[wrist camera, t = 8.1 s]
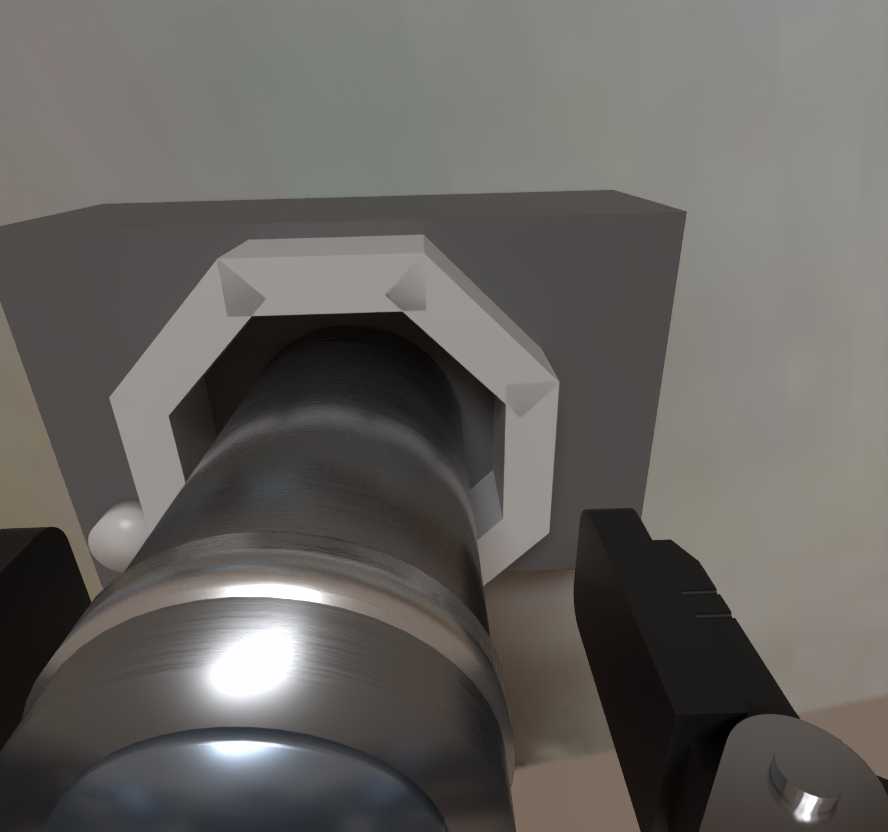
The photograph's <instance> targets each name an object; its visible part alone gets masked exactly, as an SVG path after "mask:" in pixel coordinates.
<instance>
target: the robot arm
mask: <svg viewBox="0 0 888 832" xmlns="http://www.w3.org/2000/svg"><path fill="white" fill-rule="evenodd" d="M90 604H91V600H90V597H89V595H88V592H87V589H86V587H85V584H84V581H83V579H82V576H81V573H80V570H79V568H78V565H77V562H76V560H75V557H74V554H73V552H72V549H71V546H70V544H69V541H68V539H67V537H66V535H65V534H64V532H63V531H62V530H60V529H59V528H56V527H40V528H11V529H0V751H1V750H2V748H3V747H4V745H5V744H6V742H7V741H8V739H9V738H10V737H11V735H12V734H13V732H14V731H15V729H16V728H17V726H18V725H19V724H20V722H21V721H22V717H23V713H24V708H25V704H26V700H27V698H28V696H29V694H30V692H31V690H32V687H33V685H34V683H35V681H36V679H37V678H38V676H39V675H40V674H41V672H42V671H43V669H44V668H45V667H46V665H47V664H48V662H49V661H50V660H51V658H52V657H53V655H54V654H55V653H56V651H57V650H58V648H59V647H60V646H61V644H62V643H63V641H64V640H65V639H66V637H67V636H68V634H69V633H70V632H71V630H72V629H73V627H74V626H75V625H76V623H77V622H78V620H79V619H80V618H81V616H82V615H83V613H84V612H85V611H86V609H87V608H88V607H89V605H90ZM574 607H575V615H576V621H577V625H578V629H579V632H580V635H581V639H582V642H583V645H584V648H585V652H586V655H587V658H588V661H589V665H590V668H591V671H592V674H593V678H594V681H595V684H596V687H597V691H598V694H599V697H600V700H601V704H602V707H603V710H604V713H605V717H606V720H607V723H608V727H609V730H610V733H611V736H612V740H613V743H614V746H615V749H616V753H617V756H618V759H619V762H620V766H621V768H622V772H623V775H624V779H625V782H626V785H627V788H628V792H629V795H630V798H631V801H632V804H633V808H634V811H635V814H636V818H637V821H638V824H639V827H640V831H641V832H888V780H887V779H884V778H882V777H879V776H877V775H875V773H874V772H873V771H872V770H871V768H870V767H869V766H868V765H867V763H866V762H865V761H864V760H863V759H862V758H861V757H860V756H859V755H858V754H857V753H856V752H855V751H854V750H853V749H851V748H850V747H849V746H848V745H846V744H845V743H844V742H842V741H841V740H840V739H838V738H837V737H835V736H834V735H832V734H830V733H829V732H827V731H825V730H823V729H821V728H820V727H818V726H816V725H814V724H811V723H809V722H806V721H804V720H801V719H800V718H799V716H798V715H797V714H796V712H795V711H794V709H793V708H792V706H791V705H790V703H789V701H788V700H787V698H786V697H785V695H784V694H783V692H782V690H781V689H780V687H779V686H778V684H777V683H776V681H775V680H774V678H773V676H772V675H771V673H770V672H769V670H768V669H767V667H766V665H765V664H764V662H763V661H762V659H761V658H760V656H759V654H758V653H757V651H756V650H755V648H754V647H753V645H752V644H751V642H750V640H749V639H748V637H747V636H746V634H745V633H744V631H743V629H742V628H741V626H740V625H739V623H738V622H737V620H736V619H735V618H732V616H731V611H730V609H729V608H728V606H727V604H726V603H725V601H724V600H723V598H722V597H721V595H720V594H717V591H716V587H715V586H714V584H713V583H712V581H711V579H710V578H709V576H708V575H707V573H706V572H705V570H704V568H703V567H702V565H701V564H700V562H699V561H698V560H696V559H695V558H694V557H693V556H691V555H690V554H689V553H687V552H686V551H685V550H684V549H682V548H681V547H680V546H679V545H677V544H676V543H675V542H673V541H672V540H652V539H651V537H650V535H649V533H648V532H647V530H646V528H645V526H644V524H643V523H642V521H641V519H640V517H639V515H638V514H637V512H636V511H635V510H634V509H633V508H612V509H584V510H583V511H582V513H581V517H580V524H579V535H578V545H577V556H576V567H575V578H574Z"/></svg>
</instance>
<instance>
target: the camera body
mask: <svg viewBox="0 0 888 832" xmlns="http://www.w3.org/2000/svg"><path fill="white" fill-rule="evenodd" d="M686 213H687V211H683V210H680V209H676V208H673V207H670V206H666V205H663V204H659V203H656V202H653V201H649V200H646V199H642V198H639V197H636V196H632V195H629V194H625V193H622V192H619V191H615V190H596V191H560V192H523V193H487V194H451V195H415V196H378V197H342V198H306V199H270V200H233V201H197V202H161V203H125V204H100V205H96V206H91V207H87V208H82V209H77V210H73V211H68V212H64V213H59V214H54V215H50V216H45V217H41V218H36V219H32V220H27V221H22V222H18V223H13V224H9V225H4V226H0V301H1V304H2V307H3V310H4V313H5V315H6V318H7V321H8V324H9V327H10V329H11V332H12V335H13V338H14V341H15V344H16V346H17V349H18V352H19V355H20V358H21V360H22V363H23V366H24V369H25V372H26V374H27V377H28V380H29V383H30V386H31V388H32V391H33V394H34V397H35V400H36V402H37V405H38V408H39V411H40V414H41V416H42V419H43V422H44V425H45V428H46V430H47V433H48V436H49V439H50V442H51V445H52V447H53V450H54V453H55V456H56V459H57V461H58V464H59V467H60V470H61V473H62V475H63V478H64V481H65V484H66V487H67V489H68V492H69V495H70V498H71V501H72V503H73V506H74V509H75V512H76V515H77V517H78V520H79V523H80V526H81V529H82V532H83V534H84V537H85V540H86V543H87V546H88V548H89V551H90V554H91V557H92V560H93V562H94V565H95V568H96V571H97V574H98V576H99V579H100V582H101V585H102V588H106V587H107V586H108V585H109V584H110V583H111V582H112V581H113V580H114V579H116V578H117V577H118V576H120V575H121V574H123V573H124V571H125V570H126V568H127V567H128V566H129V564H130V563H131V561H132V560H133V558H134V557H135V555H136V554H137V553H138V551H139V550H140V548H141V547H142V545H143V544H144V542H145V541H146V540H147V538H148V537H149V535H150V534H151V532H152V531H153V529H154V528H155V526H156V525H157V524H158V522H159V521H160V519H161V518H162V516H163V515H164V513H165V512H166V511H167V509H168V508H169V506H170V505H171V503H172V502H173V500H174V499H175V497H176V496H177V495H178V493H179V492H180V490H181V489H182V487H183V486H184V484H185V483H186V482H187V480H188V479H189V477H190V476H191V474H192V473H193V471H194V470H195V469H196V467H197V466H198V464H199V463H200V461H201V460H202V458H203V457H204V455H205V454H206V453H207V451H208V450H209V448H210V447H211V445H212V444H213V442H214V441H215V440H216V438H217V437H218V435H219V434H220V432H221V431H222V429H223V428H224V426H225V425H226V424H227V422H228V421H229V419H230V418H231V416H232V415H233V413H234V412H235V411H236V409H237V408H238V406H239V405H240V403H241V402H242V400H243V399H244V398H245V396H246V395H247V393H248V392H249V390H250V389H251V387H252V386H253V384H254V383H255V382H256V380H257V379H258V377H259V376H260V374H261V373H262V371H263V370H264V369H265V367H266V366H267V365H268V363H269V362H270V361H271V359H272V358H273V357H274V356H275V355H276V354H277V353H278V352H279V351H280V350H281V349H283V348H284V347H285V346H287V345H288V344H289V343H291V342H292V341H294V340H296V339H298V338H299V337H301V336H303V335H305V334H308V333H311V332H313V331H316V330H319V329H323V328H328V327H332V326H342V325H361V326H368V327H374V328H378V329H382V330H386V331H389V332H392V333H394V334H396V335H399V336H401V337H404V338H405V339H407V340H409V341H410V342H412V343H414V344H416V345H417V346H418V347H420V348H421V349H422V350H424V351H425V352H426V353H427V354H428V355H429V356H430V357H431V358H432V359H433V360H434V361H435V362H436V363H437V364H438V365H439V366H440V368H441V369H442V370H443V372H444V373H445V374H446V376H447V378H448V380H449V381H450V383H451V385H452V387H453V390H454V392H455V395H456V397H457V401H458V405H459V410H460V417H461V424H462V432H463V439H464V447H465V454H466V462H467V469H468V477H469V484H470V492H471V499H472V506H473V514H474V521H475V529H476V536H477V544H478V551H479V559H480V566H481V574H482V581H483V586H484V585H485V584H487V583H488V582H489V581H490V580H492V579H493V578H494V577H495V576H497V575H498V574H499V573H500V572H526V571H551V570H575V567H576V556H577V545H578V535H579V524H580V517H581V513H582V511H583V510H584V509H612V508H633V509H634V510H635V511H636V512H637V514H638V515H639V517H640V519H641V516H642V509H643V502H644V495H645V489H646V482H647V475H648V469H649V462H650V455H651V448H652V442H653V435H654V428H655V422H656V415H657V408H658V401H659V395H660V388H661V381H662V374H663V368H664V361H665V354H666V348H667V341H668V334H669V327H670V321H671V314H672V307H673V300H674V294H675V287H676V280H677V274H678V267H679V260H680V253H681V247H682V240H683V233H684V226H685V220H686Z"/></svg>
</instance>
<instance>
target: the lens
mask: <svg viewBox="0 0 888 832" xmlns="http://www.w3.org/2000/svg"><path fill="white" fill-rule="evenodd" d="M514 768H515V751H514V739H513V732H512V726H511V719H510V712H509V706H508V699H507V692H506V686H505V679H504V674H503V671H502V667H501V663H500V659H499V656H498V654H497V652H496V649H495V647H494V645H493V643H492V641H491V639H490V633H489V626H488V618H487V611H486V603H485V596H484V588H483V581H482V574H481V566H480V559H479V551H478V544H477V536H476V529H475V521H474V514H473V506H472V499H471V492H470V484H469V477H468V469H467V462H466V454H465V447H464V439H463V432H462V424H461V417H460V410H459V405H458V401H457V397H456V395H455V392H454V390H453V387H452V385H451V383H450V381H449V380H448V378H447V376H446V374H445V373H444V372H443V370H442V369H441V368H440V366H439V365H438V364H437V363H436V362H435V361H434V360H433V359H432V358H431V357H430V356H429V355H428V354H427V353H426V352H425V351H424V350H422V349H421V348H420V347H418V346H417V345H416V344H414V343H412V342H410V341H409V340H407V339H405V338H404V337H401V336H399V335H396V334H394V333H392V332H389V331H386V330H382V329H378V328H374V327H368V326H361V325H342V326H332V327H328V328H323V329H319V330H316V331H313V332H311V333H308V334H305V335H303V336H301V337H299V338H298V339H296V340H294V341H292V342H291V343H289V344H288V345H287V346H285V347H284V348H283V349H281V350H280V351H279V352H278V353H277V354H276V355H275V356H274V357H273V358H272V359H271V361H270V362H269V363H268V365H267V366H266V367H265V369H264V370H263V371H262V373H261V374H260V376H259V377H258V379H257V380H256V382H255V383H254V384H253V386H252V387H251V389H250V390H249V392H248V393H247V395H246V396H245V398H244V399H243V400H242V402H241V403H240V405H239V406H238V408H237V409H236V411H235V412H234V413H233V415H232V416H231V418H230V419H229V421H228V422H227V424H226V425H225V426H224V428H223V429H222V431H221V432H220V434H219V435H218V437H217V438H216V440H215V441H214V442H213V444H212V445H211V447H210V448H209V450H208V451H207V453H206V454H205V455H204V457H203V458H202V460H201V461H200V463H199V464H198V466H197V467H196V469H195V470H194V471H193V473H192V474H191V476H190V477H189V479H188V480H187V482H186V483H185V484H184V486H183V487H182V489H181V490H180V492H179V493H178V495H177V496H176V497H175V499H174V500H173V502H172V503H171V505H170V506H169V508H168V509H167V511H166V512H165V513H164V515H163V516H162V518H161V519H160V521H159V522H158V524H157V525H156V526H155V528H154V529H153V531H152V532H151V534H150V535H149V537H148V538H147V540H146V541H145V542H144V544H143V545H142V547H141V548H140V550H139V551H138V553H137V554H136V555H135V557H134V558H133V560H132V561H131V563H130V564H129V566H128V567H127V568H126V570H125V571H124V573H123V574H121V575H120V576H118V577H117V578H116V579H114V580H113V581H112V582H111V583H110V584H109V585H108V586H107V587H106V588H105V589H104V590H103V591H101V592H100V593H99V594H98V595H97V596H96V597H95V599H94V600H93V601H92V603H91V604H90V605H89V607H88V608H87V609H86V611H85V612H84V613H83V615H82V616H81V618H80V619H79V620H78V622H77V623H76V625H75V626H74V627H73V629H72V630H71V632H70V633H69V634H68V636H67V637H66V639H65V640H64V641H63V643H62V644H61V646H60V647H59V648H58V650H57V651H56V653H55V654H54V655H53V657H52V658H51V660H50V661H49V662H48V664H47V665H46V667H45V668H44V669H43V671H42V672H41V674H40V675H39V676H38V678H37V679H36V681H35V683H34V685H33V687H32V690H31V692H30V694H29V696H28V698H27V700H26V704H25V708H24V713H23V717H22V721H21V722H20V724H19V725H18V726H17V728H16V729H15V731H14V732H13V734H12V735H11V737H10V738H9V739H8V741H7V742H6V744H5V745H4V747H3V748H2V750H1V751H0V832H516V828H515V819H514V812H513V805H512V797H511V790H510V788H511V785H512V782H513V774H514Z"/></svg>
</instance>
